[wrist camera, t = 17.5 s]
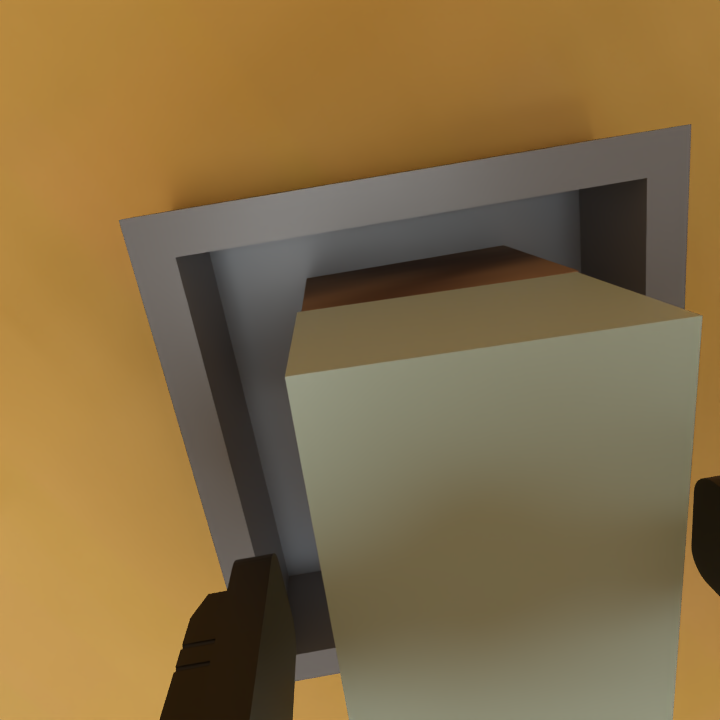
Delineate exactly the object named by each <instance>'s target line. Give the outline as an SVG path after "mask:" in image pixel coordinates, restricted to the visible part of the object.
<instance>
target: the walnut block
mask: <svg viewBox="0 0 720 720" xmlns="http://www.w3.org/2000/svg"><path fill="white" fill-rule="evenodd" d="M573 272H578V273H579V271H578V270H575V269H572V268H569V267H566V266H563V265H560V264H557V263H554V262H552V261H549V260H546V259H543V258H540V257H537V256H534V255H531V254H528V253H525V252H522V251H519V250H516V249H513V248H510V247H507V246H504V245H502V246H496V247H490V248H484V249H478V250H472V251H466V252H460V253H454V254H449V255H443V256H437V257H431V258H425V259H419V260H413V261H407V262H401V263H395V264H389V265H383V266H377V267H371V268H365V269H360V270H354V271H348V272H342V273H336V274H330V275H324V276H318V277H312V278H307V280H306V286H305V292H304V299H303V305H302V311H309V310H316V309H323V308H330V307H336V306H343V305H350V304H357V303H364V302H371V301H378V300H385V299H392V298H399V297H406V296H413V295H420V294H427V293H434V292H441V291H448V290H455V289H462V288H469V287H476V286H482V285H489V284H496V283H503V282H510V281H517V280H524V279H531V278H538V277H545V276H552V275H559V274H566V273H573ZM302 311H301V312H302Z"/></svg>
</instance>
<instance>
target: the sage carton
mask: <svg viewBox="0 0 720 720" xmlns="http://www.w3.org/2000/svg"><path fill="white" fill-rule="evenodd" d="M701 329H702V315H699V314H696V313H694V312H691V311H688V310H685V309H682V308H679V307H676V306H673V305H671V304H668V303H665V302H662V301H659V300H656V299H653V298H650V297H647V296H645V295H642V294H639V293H636V292H633V291H630V290H627V289H624V288H621V287H619V286H616V285H613V284H610V283H607V282H604V281H601V280H598V279H596V278H593V277H590V276H587V275H584V274H581V273H578V272H573V273H566V274H559V275H552V276H545V277H538V278H531V279H524V280H517V281H510V282H503V283H496V284H489V285H482V286H476V287H469V288H462V289H455V290H448V291H441V292H434V293H427V294H420V295H413V296H406V297H399V298H392V299H385V300H378V301H371V302H364V303H357V304H350V305H343V306H336V307H330V308H323V309H316V310H309V311H302V312H297V316H296V321H295V326H294V332H293V337H292V342H291V347H290V352H289V357H288V363H287V368H286V373H285V381H286V386H287V391H288V397H289V402H290V407H291V413H292V418H293V423H294V429H295V434H296V439H297V445H298V450H299V455H300V461H301V466H302V471H303V477H304V482H305V487H306V493H307V498H308V503H309V509H310V514H311V519H312V525H313V530H314V535H315V540H316V546H317V551H318V556H319V562H320V567H321V572H322V578H323V583H324V588H325V594H326V599H327V604H328V610H329V615H330V620H331V626H332V631H333V636H334V642H335V647H336V652H337V658H338V663H339V668H340V674H341V679H342V684H343V690H344V695H345V700H346V706H347V711H348V716H349V720H673V708H674V694H675V681H676V667H677V654H678V640H679V627H680V613H681V600H682V586H683V573H684V559H685V546H686V532H687V519H688V505H689V492H690V478H691V465H692V451H693V438H694V424H695V411H696V397H697V383H698V370H699V356H700V343H701Z"/></svg>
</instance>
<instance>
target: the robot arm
mask: <svg viewBox="0 0 720 720" xmlns="http://www.w3.org/2000/svg"><path fill="white" fill-rule="evenodd" d="M692 554H693V558H694V561H695V564H696V566H697V569H698V571H699V572H700V574H701V576H702V577H703V579H704V580H705V581H706V582H707V583H708V585H709V586H710V587H711V588H712V589H713V590H714V591H715V592H716V593H717V594H718V595H719V596H720V476H715V477H709V478H703V479H700V480H698V481H697V483H696V485H695V488H694V504H693V525H692ZM182 645H183V649H182V650H181V651H180V654H179V657H178V661H177V664H176V672H175V673H174V674H173V677H172V681H171V684H170V687H169V690H168V694H167V697H166V700H165V704H164V707H163V710H162V714H161V717H160V720H293V703H294V684H295V666H296V636H295V627H294V621H293V616H292V612H291V608H290V604H289V600H288V596H287V592H286V588H285V584H284V580H283V576H282V572H281V568H280V564H279V560H278V558H277V555H276V554H275V553H272V554H266V555H261V556H255V557H249V558H244V559H238V560H235V561H234V563H233V567H232V571H231V575H230V579H229V584H228V588H227V591H224V592H218V593H212V594H208V595H207V597H206V598H205V599H204V601H203V602H202V603H201V605H200V606H199V607H198V609H197V610H196V611H195V613H194V614H193V615H192V617H191V618H190V621H189V624H188V628H187V631H186V634H185V638H184V641H183V644H182Z"/></svg>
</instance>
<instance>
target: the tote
mask: <svg viewBox="0 0 720 720" xmlns="http://www.w3.org/2000/svg"><path fill="white" fill-rule="evenodd" d="M690 144H691V124H690V125H684V126H677V127H671V128H665V129H659V130H652V131H646V132H640V133H634V134H628V135H621V136H615V137H609V138H603V139H597V140H591V141H585V142H579V143H573V144H567V145H561V146H555V147H549V148H543V149H537V150H531V151H525V152H519V153H513V154H507V155H501V156H495V157H489V158H483V159H477V160H471V161H465V162H459V163H453V164H447V165H441V166H435V167H429V168H423V169H417V170H411V171H405V172H399V173H393V174H387V175H381V176H375V177H369V178H364V179H358V180H352V181H346V182H340V183H334V184H328V185H322V186H316V187H310V188H304V189H298V190H292V191H286V192H280V193H274V194H268V195H262V196H256V197H250V198H244V199H238V200H232V201H226V202H220V203H214V204H208V205H202V206H196V207H190V208H184V209H178V210H172V211H167V212H161V213H156V214H150V215H144V216H139V217H133V218H128V219H122V220H119V223H120V226H121V229H122V233H123V236H124V240H125V243H126V246H127V250H128V253H129V257H130V260H131V263H132V267H133V270H134V274H135V277H136V280H137V284H138V287H139V291H140V294H141V298H142V301H143V304H144V308H145V311H146V315H147V318H148V321H149V325H150V328H151V332H152V335H153V338H154V342H155V345H156V349H157V352H158V355H159V359H160V362H161V366H162V369H163V372H164V376H165V379H166V383H167V386H168V390H169V393H170V396H171V400H172V403H173V407H174V410H175V413H176V417H177V420H178V424H179V427H180V430H181V434H182V437H183V441H184V444H185V447H186V451H187V454H188V458H189V461H190V464H191V468H192V471H193V475H194V478H195V481H196V485H197V488H198V492H199V495H200V499H201V502H202V505H203V509H204V512H205V516H206V519H207V522H208V526H209V529H210V533H211V536H212V539H213V543H214V546H215V550H216V553H217V556H218V560H219V563H220V567H221V570H222V573H223V577H224V580H225V584H226V587H227V588H228V584H229V579H230V575H231V571H232V567H233V563H234V561H235V560H238V559H244V558H249V557H255V556H261V555H266V554H272V553H275V554H276V555H277V558H278V560H279V564H280V568H281V572H282V576H283V580H284V584H285V588H286V592H287V596H288V600H289V604H290V608H291V612H292V616H293V621H294V627H295V636H296V666H295V681H299V680H304V679H310V678H316V677H321V676H327V675H332V674H338V673H340V668H339V663H338V658H337V652H336V647H335V642H334V636H333V631H332V626H331V620H330V615H329V610H328V604H327V599H326V594H325V588H324V583H323V578H322V572H321V567H320V562H319V556H318V551H317V546H316V540H315V535H314V530H313V525H312V519H311V514H310V509H309V503H308V498H307V493H306V487H305V482H304V477H303V471H302V466H301V461H300V455H299V450H298V445H297V439H296V434H295V429H294V423H293V418H292V413H291V407H290V402H289V397H288V391H287V386H286V381H285V373H286V368H287V363H288V357H289V352H290V347H291V342H292V337H293V332H294V326H295V321H296V316H297V312H301V311H302V305H303V299H304V292H305V286H306V280H307V278H312V277H318V276H324V275H330V274H336V273H342V272H348V271H354V270H360V269H365V268H371V267H377V266H383V265H389V264H395V263H401V262H407V261H413V260H419V259H425V258H431V257H437V256H443V255H449V254H454V253H460V252H466V251H472V250H478V249H484V248H490V247H496V246H502V245H504V246H507V247H510V248H513V249H516V250H519V251H522V252H525V253H528V254H531V255H534V256H537V257H540V258H543V259H546V260H549V261H552V262H554V263H557V264H560V265H563V266H566V267H569V268H572V269H575V270H578V271H579V273H581V274H584V275H587V276H590V277H593V278H596V279H598V280H601V281H604V282H607V283H610V284H613V285H616V286H619V287H621V288H624V289H627V290H630V291H633V292H636V293H639V294H642V295H645V296H647V297H650V298H653V299H656V300H659V301H662V302H665V303H668V304H671V305H673V306H676V307H679V308H682V309H685V282H686V255H687V227H688V199H689V172H690Z"/></svg>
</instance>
